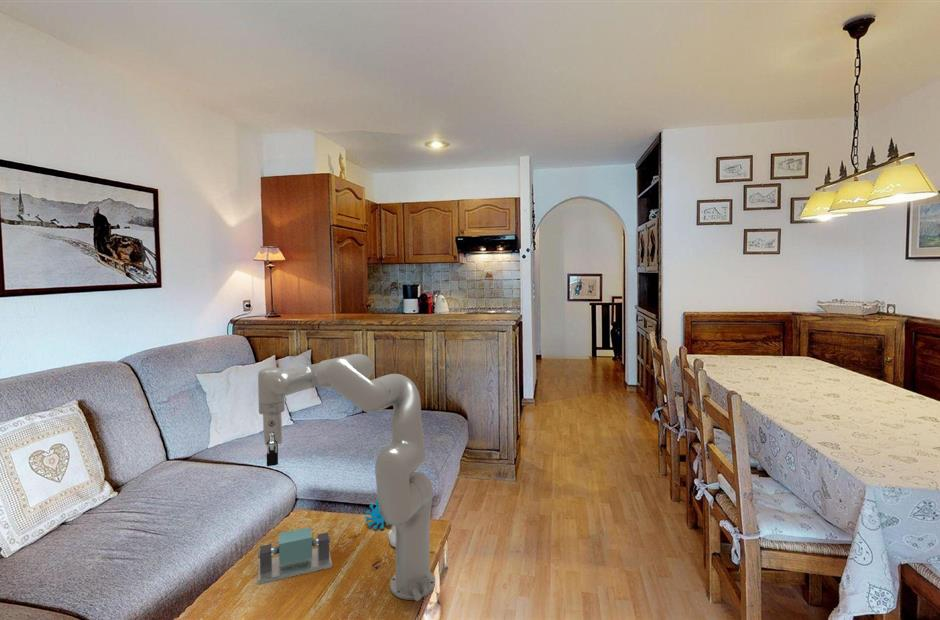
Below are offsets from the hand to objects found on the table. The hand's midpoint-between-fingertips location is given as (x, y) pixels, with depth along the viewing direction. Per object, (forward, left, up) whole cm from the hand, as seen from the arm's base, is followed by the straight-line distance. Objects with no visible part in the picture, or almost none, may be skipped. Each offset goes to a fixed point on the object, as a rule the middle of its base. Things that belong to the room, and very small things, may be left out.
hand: (272, 459), depth 142 cm
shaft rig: (-14, -6, -28) cm, 32 cm away
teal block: (-14, -6, -25) cm, 30 cm away
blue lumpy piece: (-1, -35, -29) cm, 45 cm away
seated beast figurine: (-14, -38, -29) cm, 50 cm away
